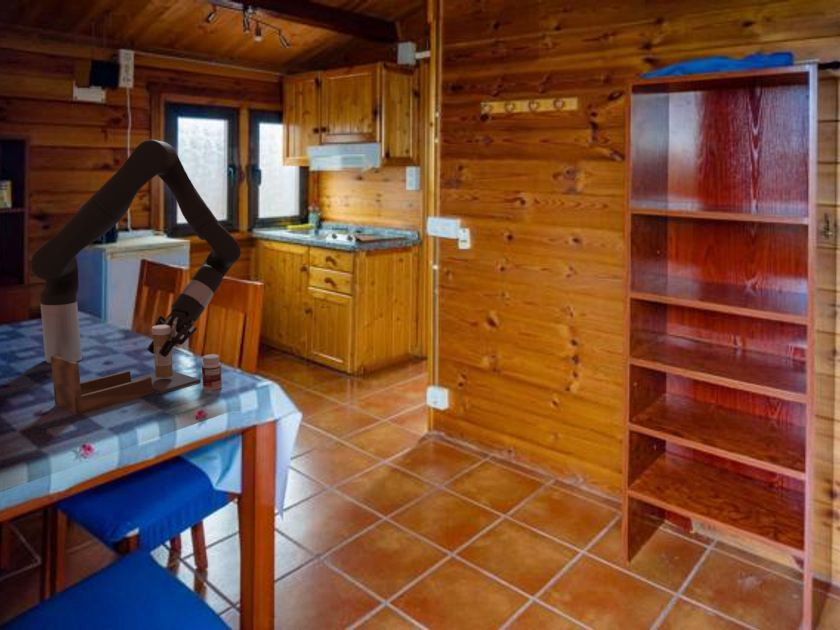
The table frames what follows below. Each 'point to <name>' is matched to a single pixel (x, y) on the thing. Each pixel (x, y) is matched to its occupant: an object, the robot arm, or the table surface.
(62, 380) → the shelf lane
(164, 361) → the sprinkles bottle
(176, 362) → the table surface
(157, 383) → the rubber mat
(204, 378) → the pill bottle
